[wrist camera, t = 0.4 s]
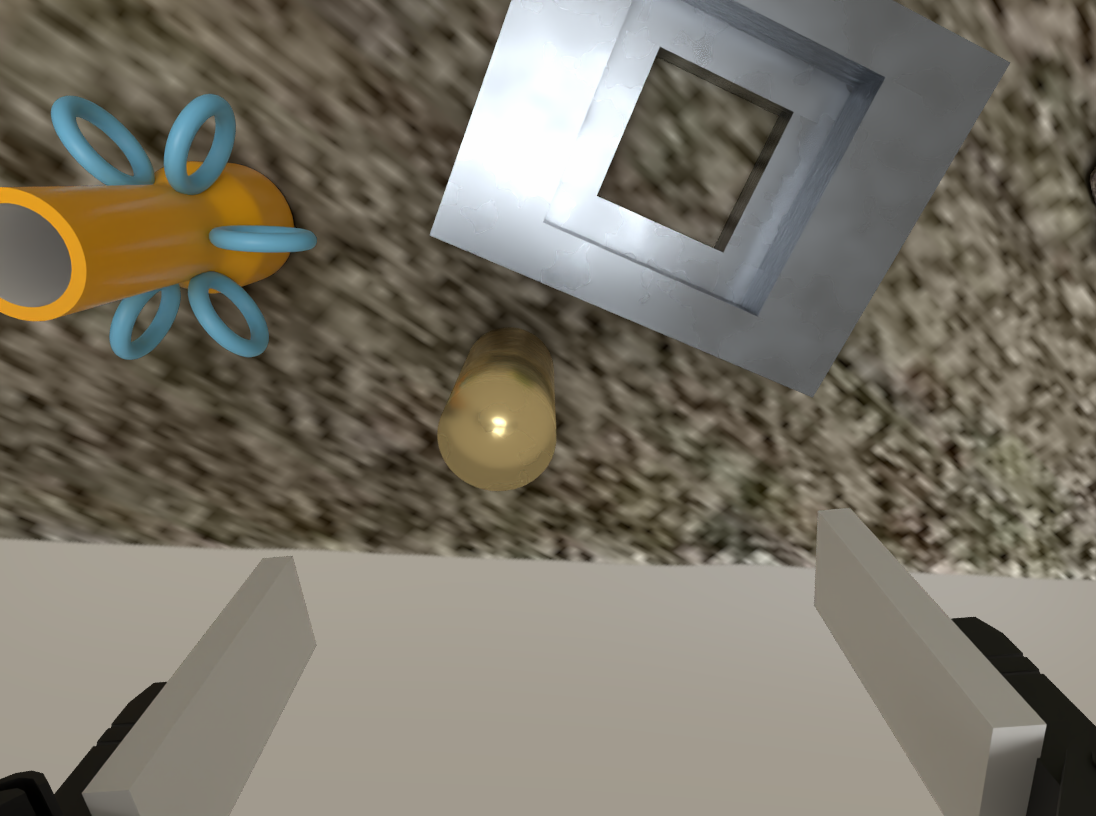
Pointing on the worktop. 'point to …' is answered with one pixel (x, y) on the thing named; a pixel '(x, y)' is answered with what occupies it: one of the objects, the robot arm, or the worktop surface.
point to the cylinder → (147, 232)
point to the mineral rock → (1093, 183)
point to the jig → (771, 190)
